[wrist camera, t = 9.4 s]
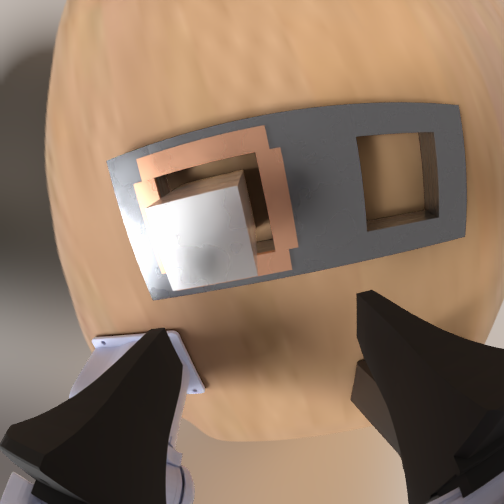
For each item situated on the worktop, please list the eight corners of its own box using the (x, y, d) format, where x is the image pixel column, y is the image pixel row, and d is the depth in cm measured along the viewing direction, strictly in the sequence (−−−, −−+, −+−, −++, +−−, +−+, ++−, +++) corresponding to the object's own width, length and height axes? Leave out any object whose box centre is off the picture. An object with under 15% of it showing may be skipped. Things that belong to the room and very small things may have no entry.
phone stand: (432, 341, 23) (486, 424, 12) (419, 378, 25) (458, 456, 14) (356, 360, 23) (395, 467, 12) (349, 397, 26) (376, 490, 15)
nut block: (198, 239, 19) (173, 290, 12) (183, 183, 17) (145, 208, 11) (255, 228, 19) (257, 275, 12) (243, 169, 17) (237, 185, 11)
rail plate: (160, 286, 20) (151, 302, 18) (120, 158, 17) (104, 161, 14) (451, 228, 18) (467, 237, 16) (442, 106, 15) (461, 105, 13)
